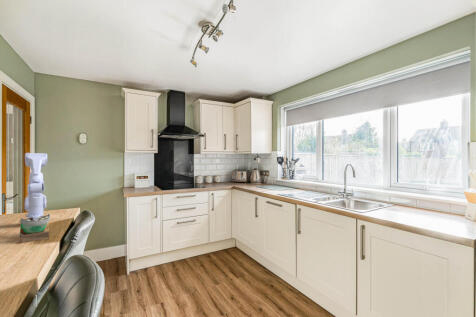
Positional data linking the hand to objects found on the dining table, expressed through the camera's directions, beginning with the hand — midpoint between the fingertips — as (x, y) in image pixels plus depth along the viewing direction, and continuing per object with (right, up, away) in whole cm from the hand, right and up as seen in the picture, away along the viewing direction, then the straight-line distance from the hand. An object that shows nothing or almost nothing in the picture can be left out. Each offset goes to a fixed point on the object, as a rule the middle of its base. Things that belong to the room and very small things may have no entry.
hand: (35, 231), depth 117 cm
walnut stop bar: (+6, -2, -7) cm, 9 cm away
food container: (+2, -2, -3) cm, 4 cm away
